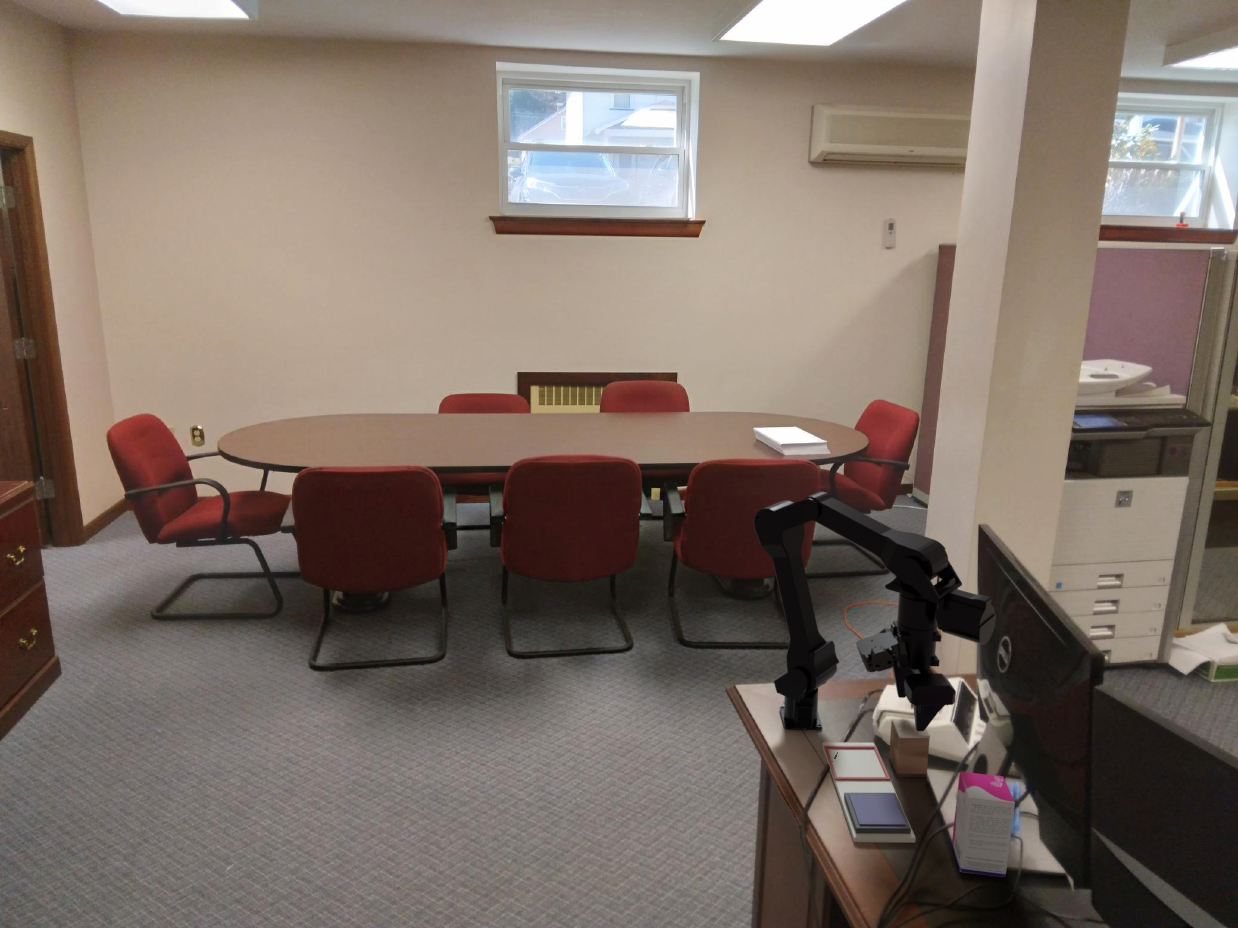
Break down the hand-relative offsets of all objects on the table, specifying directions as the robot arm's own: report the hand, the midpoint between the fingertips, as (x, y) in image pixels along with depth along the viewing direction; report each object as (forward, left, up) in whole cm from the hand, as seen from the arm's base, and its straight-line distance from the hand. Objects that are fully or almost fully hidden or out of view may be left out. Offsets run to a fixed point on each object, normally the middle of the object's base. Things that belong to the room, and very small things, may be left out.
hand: (910, 713), depth 122 cm
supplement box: (+20, +4, -10) cm, 22 cm away
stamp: (0, 0, -10) cm, 10 cm away
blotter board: (+6, -8, -10) cm, 14 cm away
